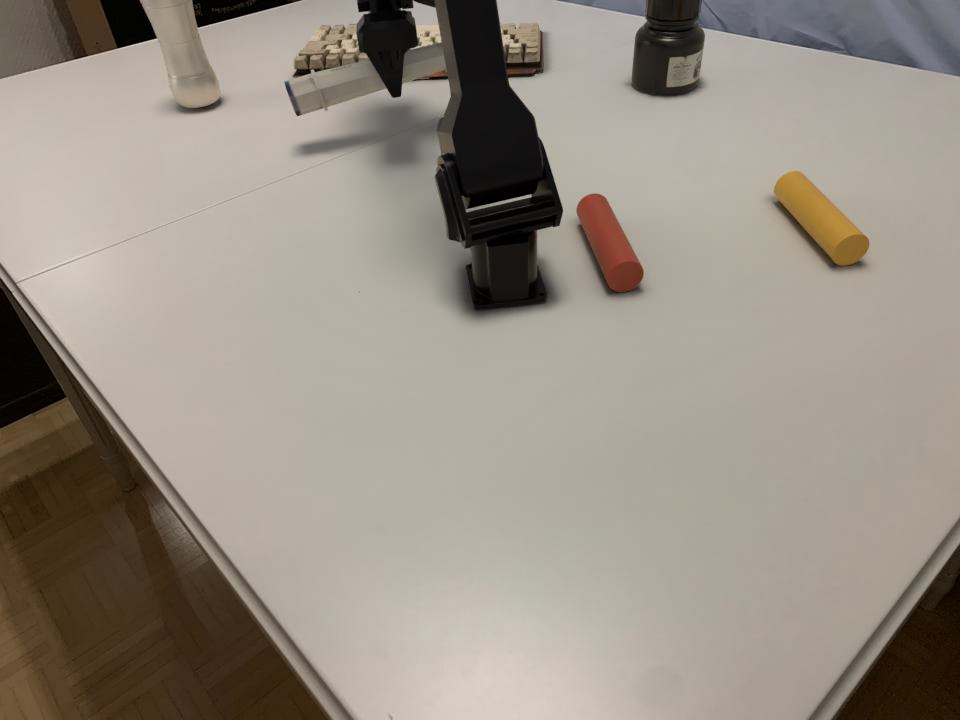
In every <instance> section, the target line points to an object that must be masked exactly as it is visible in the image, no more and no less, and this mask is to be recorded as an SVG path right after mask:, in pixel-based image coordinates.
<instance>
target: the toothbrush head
mask: <svg viewBox="0 0 960 720" xmlns="http://www.w3.org/2000/svg"><path fill="white" fill-rule="evenodd" d="M444 70H445V71H446V73H447V69H446V63H445V58H444V52H443V47H442V42H441V43H437V44H432V45H428V46H424V47H420V48H416V49H411V50H408V51H407V52H406V53H405V55H404V64H403V78H402V84H405V83H409V82H412V81H414V80H419V79H418V78H421V77H425V76H428V75H431V74H434V73H437V72H441V71H444ZM284 86H285V89H286V92H287V96H288V98H289V101H290V104H291V106H292V109H293V111H294V113H295V115H296V117H300V116H304V115H306V114H310V113H312V112H316V111H320V110H322V109H323V110H324V111H325V112H327V111H328V110H329V109H328V108H329V107H333V106H335V105H339V104H343V103H346V102H349V101H352V100H355V99H358V98H360V97H364V96H367V95H370V94H374V93H376V92H380V91H383V90H387V88H386V86H385V85H384V83H383V81H382V79H381V78H380V76H379V74H378V73H377V71H376V69H375V68H374V66H373V64H372V63H371V61H370V60H365V61H361V62H356V63H352V64H348V65H344V66H340V67H335V68H331V69H327V70H323V71H318V72H314V69H313V70H311V74H308V75H305V76H301V77H298V78H292V79H289V80H285V81H284Z"/></svg>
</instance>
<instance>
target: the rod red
mask: <svg viewBox="0 0 960 720" xmlns="http://www.w3.org/2000/svg"><path fill="white" fill-rule="evenodd" d="M575 209H576V211H575V213H576V215H577V218H578V220H579V222H580V225H581V227H582V229H583V232H584V234H585V236H586V238H587V240H588V243H589V245H590V247H591V249H592V251H593V254H594V256H595V258H596V261H597V262H598V263H597V264H598V265H599V267H600V269H601V273H602V274H603V277H604V279H605V281H606V283H607V286H608V287H609V289H611V290H612V291H615V292H617V293H624V292H629V291H631V290H634V289H635V288H637V287H638V286H639V285H640V284H641V282H642V281H643V279H644V275H645V274H644V273H645V271H644V267H643V266H642V264H641V262H640V260H639V258H638V256H637V255H636V253H635V251H634V249H633V247H632V245H631V243H630V241H629V239H628V237H627V235H626V233H625V231H624V230H623V228H622V226H621V224H620V222H619V220H618V218H617V216H616V214H615V212H614V210H613V208H612V206H611V204H610V202H609V201H608V199H607V198H606V197H605V196H604V195H603V194H601V193H596V192H595V193H594V192H593V193H589V194H587V195H585V196H583V197H582V198H581V199H580V200H579V201H578V203H577V206H576V208H575Z"/></svg>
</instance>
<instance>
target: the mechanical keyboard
mask: <svg viewBox="0 0 960 720" xmlns="http://www.w3.org/2000/svg"><path fill="white" fill-rule="evenodd" d="M500 27H501V34H502V41H503V47H504V54H505V61H506V68H507V74H508V75H509V76H510V75H511V76H512V75H514V76H523V75H531V74H535V72H537V71H544V32H543V31H542V30H541V29H540V25H539V23H538V22H521V23H520V24H519V26H518V28H517V27H516V24H515V22H512V23H500ZM356 31H357V23H349V24H348V25H347V27H346V26H345V25H344V24H343V23H342V24H341V23H340V24H334V25H333V27H332V26H331V24H320V26H319V28H318V29H316V30H315V32H314V35H312V36H311V38H310V40H309V41H308V42H307V43H306V44H305V46H304V47H303V48H302V49H300V50H299V52H298V53H297V54H298V55H295V57H294V58H293V69H294V70H295V72H294V73H293V74H292V79H295V78H298V77H301V76H305V75H308V74H311V70H313V69H314V72H318V71H323V70H327V69H331V68H335V67H340V66H344V65H348V64H352V63H356V62H361V61H365V60H369V58H368V56H367V55H366V53H362V52H359V46H358V40H357V34H356ZM416 31H417V39H418V46H417V47H415V48H410V49H409V50H411V49H416V48H420V47H424V46H428V45H432V44H437V43H441V42H442V41H441V35H440V30H439V24H416ZM435 77H438V78H440V77H448V75H447V73H446V71H445V70H444V71H441V72H437V73H434V74H431V75H428V76H425V77H421V78H418V79H417V80H429V79H430V78H435Z"/></svg>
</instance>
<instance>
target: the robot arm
mask: <svg viewBox="0 0 960 720" xmlns="http://www.w3.org/2000/svg"><path fill="white" fill-rule="evenodd" d="M414 2H415V3H417V4H421V5H423V6H428V7H431V8H435V12H436V17H437V25H439V30H440V35H441V41H442V47H443V52H444V58H445V63H446V69H447V75H448V76H447V79H448V85H449V92H450V97H449V100H448V103H447V105H446V109H445V112H444V115H443V117H440V118H439V120H438V123H437V126H436V127H437V128H436V133H437V139H438V141H439V149H440V150H439V151H440V155H438V156H437V159H436V161H437V162H436V164H437V165H436V168H435V171H436V172H435V174H434V181H435V186H436V189H437V193H438V198H439V201H440V205H441V209H442V212H443V216H444V222H445V231H446V232H445V233H446V237H447V239H448V241H452V242H457V243H460V245H461V246H462V248H463V249H464V250H466V249H470V259H471V263H468V264H466V265H465V273H466V278H467V283H468V289H469V294H470V299H471V300H470V301H471V305H472V308H473V309H474V310H485V309H495V308H503V307H510V306H511V307H512V306H520V305H527V304H529V305H530V304H533V303H534V304H535V303H544V302H546V301H547V300H548V292H547V289H546V286H545V283H544V280H543V276H542V274H541V270H540V268H539V264H538V231H540V230H545V229H549V228H557V227H560V226H561V221H562V218H563V213H564V207H563V203H562V201H561V197H560V193H559V191H558V188H557V187H558V186H557V185H556V180H555V178H554V174H553V171H552V168H551V164H550V161H549V158H548V154H547V151H546V147H545V145H544V143H543V141H542V139H541V138H540V136H539V133H538V127H537V123H536V119H535V116H534V114H533V113H532V112H531V111H530V109H529V108H528V107H527V105H526V104H525V103H524V102H523V100H522V99H521V97H520V96H518V94H517V93H516V92H515V90H514V89H513V87H512V86H511V84H510V81H509V76H508V74H507V68H506V61H505V54H504V47H503V41H502V34H501V27H500V24H501V21H500V14H499V8H498V0H356V4H357V5H356V6H357V12H358V13H363V15H362V16H361V17H360V18H359V20H358V22H357V23H356V24H357V31H356V34H357V40H358V46H359V52H362V53H366V55H367V56H368V58H369V60H370V61H371V63H372V64H373V66H374V68H375V69H376V71H377V73H378V74H379V76H380V78H381V79H382V81H383V83H384V85H385V86H386V90H387V91H388V94H389V95H390V96H391V98H393V99H397V98H401V97H402V93H403V92H402V91H403V83H402V78H403V64H404V55H405V53H406V52H407V51H408V50H409V49H410V48H415V47H417V46H418V39H417V31H416V25H417V23H416V19H415V17H414V16H413V11H411V9H414ZM409 9H410V10H409ZM365 12H367V13H365ZM526 196H530V197H526ZM522 197H525V198H522ZM518 198H522V199H518ZM513 199H517V200H513ZM508 200H512V201H509V202H508ZM505 201H507V202H505ZM501 202H505V203H501ZM496 203H500V204H497V205H496ZM493 204H495V205H493ZM487 205H491V206H487ZM483 206H486V207H483ZM479 207H482V208H479ZM474 208H479V209H474ZM470 209H473V210H470ZM467 210H470V211H467Z"/></svg>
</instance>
